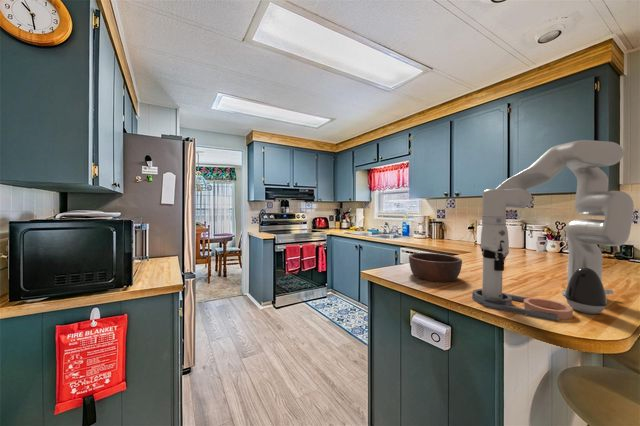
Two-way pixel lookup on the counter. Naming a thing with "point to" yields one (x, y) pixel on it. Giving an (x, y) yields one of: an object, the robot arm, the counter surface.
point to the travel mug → (491, 277)
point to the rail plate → (509, 304)
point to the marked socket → (561, 309)
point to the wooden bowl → (435, 266)
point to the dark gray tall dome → (586, 292)
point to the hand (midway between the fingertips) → (492, 267)
